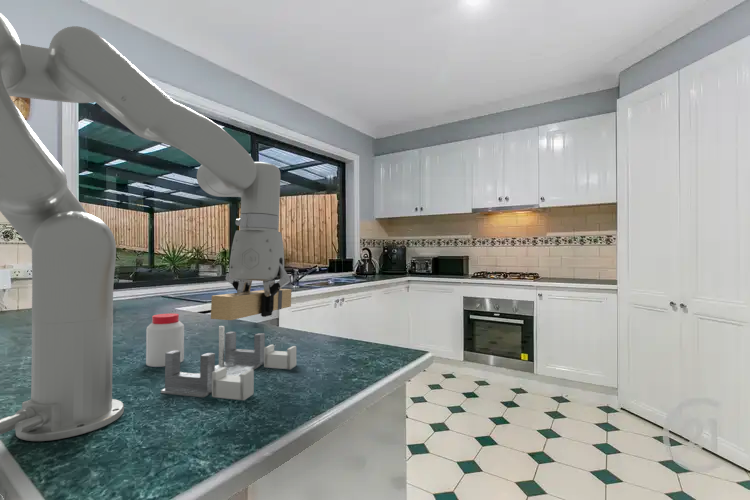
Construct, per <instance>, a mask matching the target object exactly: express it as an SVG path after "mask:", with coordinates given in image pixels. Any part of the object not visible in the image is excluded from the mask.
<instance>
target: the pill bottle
mask: <svg viewBox="0 0 750 500" xmlns="http://www.w3.org/2000/svg"><path fill="white" fill-rule="evenodd" d="M179 319H180V314H179V313H170V312H169V313H159V314H154V315H152V319H151V323H150V324H148V325H147V327H146V331H145V334H146V337H145V340H146V341H145V342H146V344H145V346H146V347H145V348H146V349H145V350H146V351H145V365H146V366H147V367H151V368H152V367H153V368H157V367H158V368H159V367H160V368H161V367H165V353H167V352H170V351H173V350H174V351H180V363H182V362H184V359H185V355H184V354H185V325H184V323H182V321H180V320H179Z"/></svg>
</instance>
